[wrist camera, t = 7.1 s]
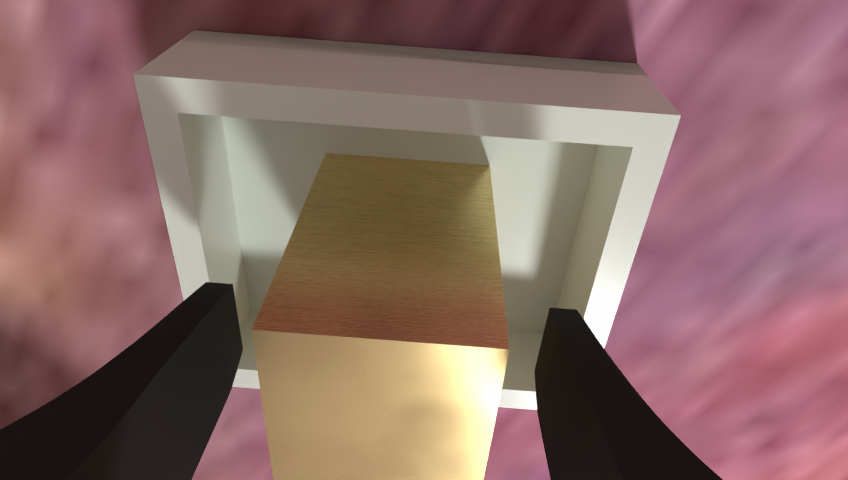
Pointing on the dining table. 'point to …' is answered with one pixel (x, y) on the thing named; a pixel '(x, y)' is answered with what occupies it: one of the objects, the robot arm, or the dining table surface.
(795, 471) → the dining table surface
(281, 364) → the tea tin
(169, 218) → the tote
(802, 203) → the dining table surface
